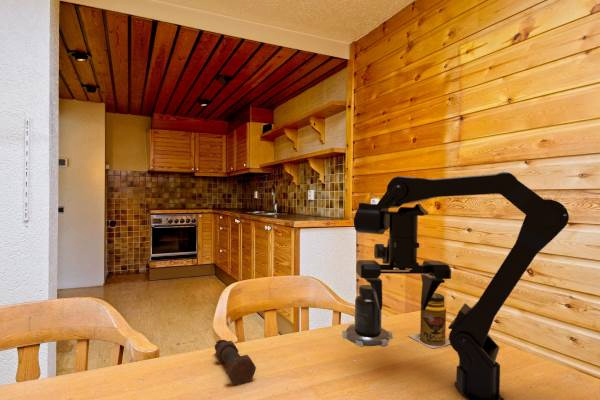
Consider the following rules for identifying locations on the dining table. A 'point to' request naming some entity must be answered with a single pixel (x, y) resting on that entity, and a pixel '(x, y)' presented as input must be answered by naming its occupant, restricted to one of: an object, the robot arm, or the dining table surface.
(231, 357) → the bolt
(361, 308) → the supplement bottle
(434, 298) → the condiment
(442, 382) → the dining table surface
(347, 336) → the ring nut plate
